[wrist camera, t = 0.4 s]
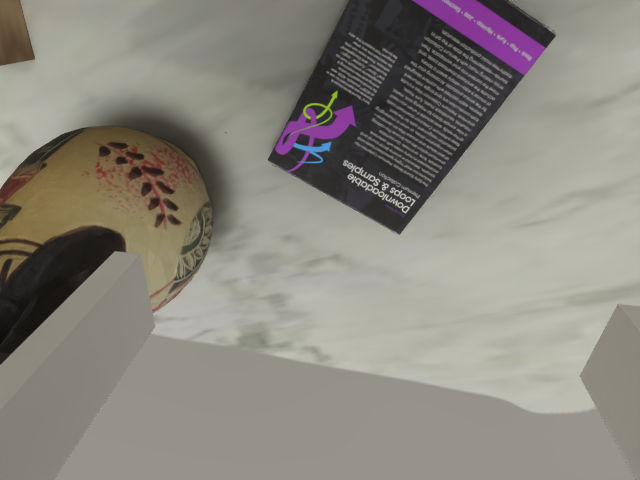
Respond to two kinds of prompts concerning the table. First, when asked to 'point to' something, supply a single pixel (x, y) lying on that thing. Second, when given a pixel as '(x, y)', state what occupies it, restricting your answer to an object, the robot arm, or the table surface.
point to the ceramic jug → (97, 221)
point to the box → (404, 98)
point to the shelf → (13, 34)
